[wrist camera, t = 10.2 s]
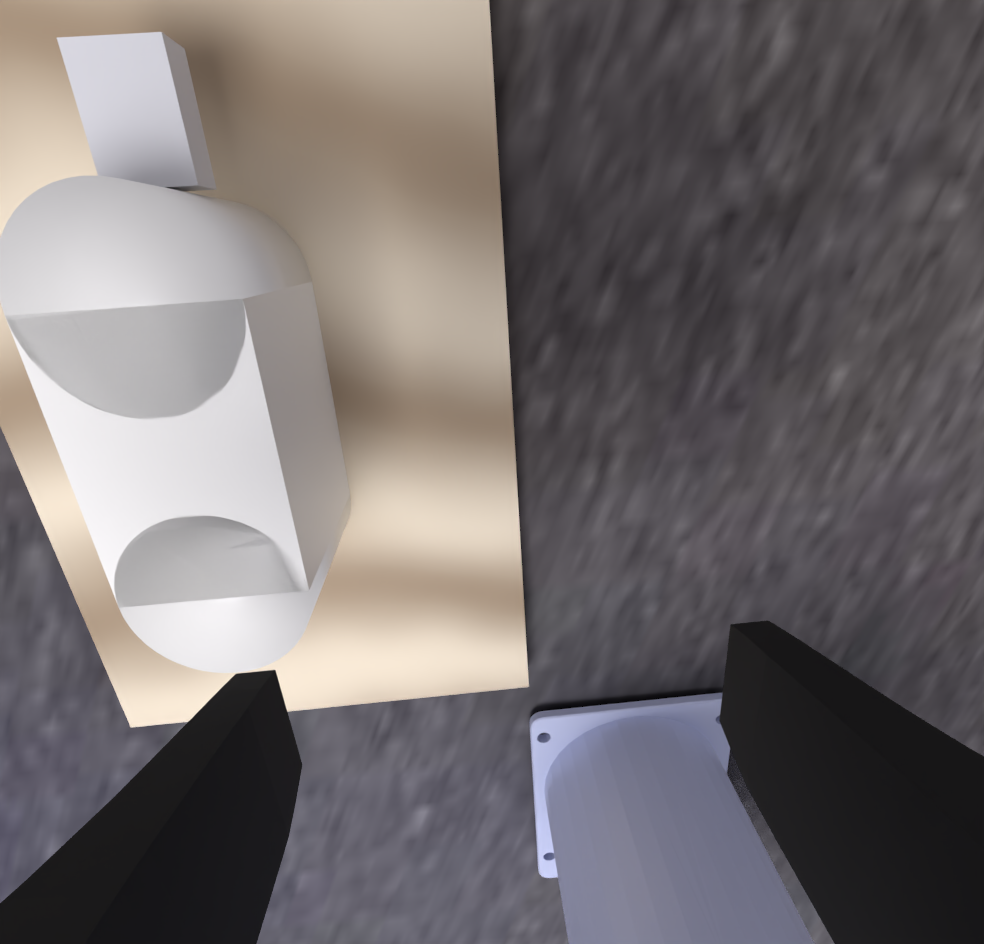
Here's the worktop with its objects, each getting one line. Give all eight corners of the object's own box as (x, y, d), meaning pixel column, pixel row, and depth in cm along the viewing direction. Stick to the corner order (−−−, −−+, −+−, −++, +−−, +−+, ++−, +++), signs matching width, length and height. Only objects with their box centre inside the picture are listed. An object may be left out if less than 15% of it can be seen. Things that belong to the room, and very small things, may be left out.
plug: (360, 551, 17) (325, 664, 13) (230, 563, 17) (147, 681, 12) (275, 76, 12) (169, -25, 8) (94, 86, 12) (-122, -10, 8)
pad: (525, 667, 21) (528, 686, 20) (145, 705, 20) (130, 727, 19) (478, -114, 12) (480, -144, 11) (-176, -78, 12) (-230, -106, 11)
